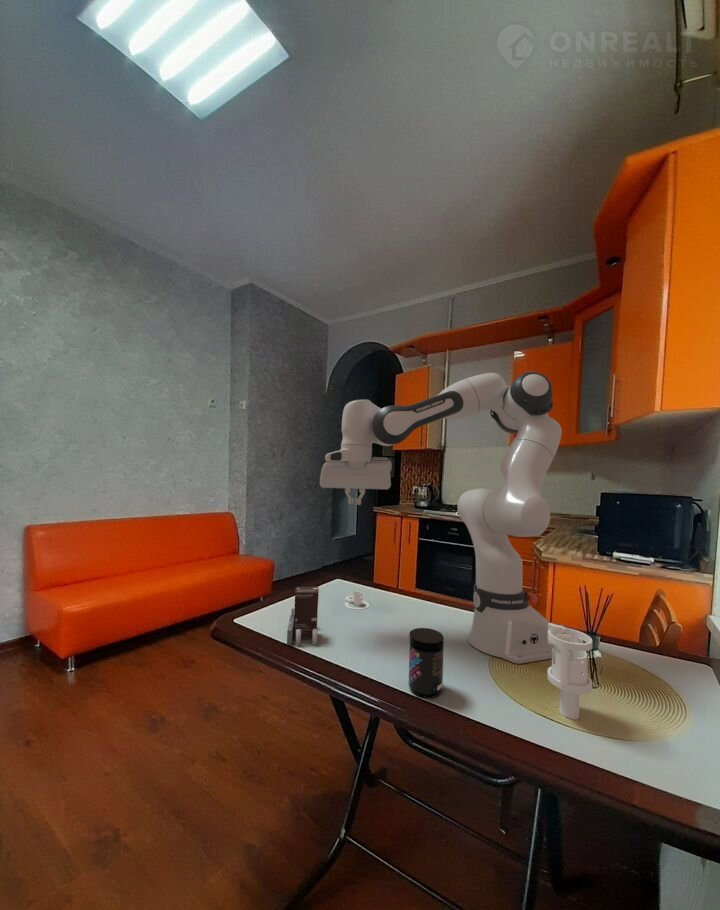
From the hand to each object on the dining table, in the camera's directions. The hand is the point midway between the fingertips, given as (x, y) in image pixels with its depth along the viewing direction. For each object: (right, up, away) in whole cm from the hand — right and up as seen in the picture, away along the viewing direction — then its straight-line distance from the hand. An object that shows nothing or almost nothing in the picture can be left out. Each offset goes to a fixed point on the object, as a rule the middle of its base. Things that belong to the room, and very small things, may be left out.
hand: (354, 504), depth 102 cm
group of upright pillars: (-13, -32, -10) cm, 36 cm away
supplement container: (+15, -32, -31) cm, 47 cm away
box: (-13, -33, -10) cm, 36 cm away
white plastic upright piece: (+39, -33, -37) cm, 63 cm away
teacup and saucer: (+2, -35, +16) cm, 38 cm away
